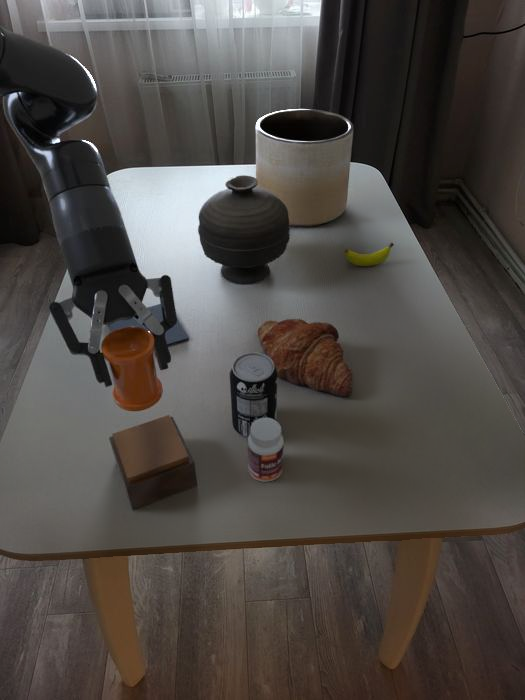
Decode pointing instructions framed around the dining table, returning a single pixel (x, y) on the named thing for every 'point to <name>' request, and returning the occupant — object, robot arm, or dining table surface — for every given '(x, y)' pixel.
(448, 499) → the dining table surface
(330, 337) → the pastry
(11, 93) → the robot arm
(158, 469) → the wooden box
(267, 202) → the pot
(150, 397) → the spool
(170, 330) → the mat
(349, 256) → the fruit
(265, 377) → the beverage can
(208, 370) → the dining table surface
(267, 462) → the pill bottle
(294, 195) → the planter
